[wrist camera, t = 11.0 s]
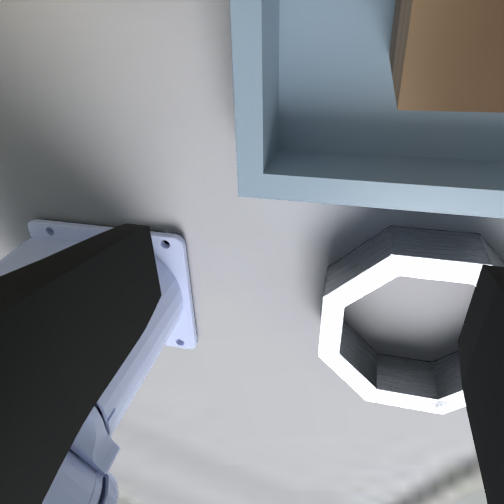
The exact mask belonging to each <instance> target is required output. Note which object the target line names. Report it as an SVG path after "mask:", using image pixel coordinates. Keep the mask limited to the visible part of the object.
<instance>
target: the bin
mask: <svg viewBox="0 0 504 504" xmlns="http://www.w3.org/2000/svg"><path fill="white" fill-rule="evenodd" d="M395 3H396V0H230V15H231V38H232V61H233V84H234V107H235V130H236V153H237V176H238V196H240V197H252V198H264V199H276V200H288V201H300V202H312V203H324V204H336V205H348V206H360V207H372V208H384V209H395V210H407V211H419V212H431V213H443V214H455V215H467V216H479V217H491V218H503V219H504V113H495V112H453V111H411V110H397V105H396V98H395V92H394V85H393V79H392V72H391V66H390V59H389V52H390V44H391V36H392V27H393V19H394V11H395Z"/></svg>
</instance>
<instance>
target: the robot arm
mask: <svg viewBox="0 0 504 504" xmlns="http://www.w3.org/2000/svg"><path fill="white" fill-rule="evenodd" d="M27 227H28V231H29V234H30V237H31V238H30V239H28V240H27V241H26V242H24V243H23V244H22V245H20V246H19V247H18V248H16V249H15V250H13V251H12V252H11V253H9V254H8V255H7V256H5V257H4V258H3V259H1V260H0V504H117V499H118V485H117V482H116V479H115V478H114V477H113V476H112V475H111V474H110V473H109V472H108V470H109V468H110V467H111V465H112V463H113V461H114V459H115V457H116V456H117V454H118V452H119V450H120V447H119V446H118V445H117V444H116V443H115V442H114V441H113V440H112V439H111V438H110V437H111V435H112V434H113V432H114V430H115V429H116V427H117V425H118V424H119V422H120V420H121V418H122V417H123V415H124V413H125V412H126V410H127V408H128V407H129V405H130V403H131V401H132V400H133V398H134V396H135V395H136V393H137V391H138V390H139V388H140V386H141V384H142V383H143V381H144V379H145V378H146V376H147V374H148V373H149V371H150V369H151V367H152V366H153V364H154V362H155V361H156V359H157V357H158V356H159V354H160V352H161V350H162V349H163V347H164V345H167V346H173V347H179V348H185V349H193V348H195V346H196V344H197V334H196V325H195V317H194V309H193V301H192V293H191V285H190V277H189V269H188V260H187V252H186V244H185V241H184V239H183V238H182V237H181V236H180V235H177V234H171V233H162V232H152V231H150V227H149V226H142V225H133V224H124V225H121V226H117V227H106V226H96V225H87V224H77V223H68V222H59V221H49V220H40V219H33V220H32V221H30V222H29V223H28V225H27ZM51 229H53V231H52V230H51ZM164 240H166V241H168V242H169V244H170V245H167V244H166V243H165V242H164ZM180 339H181V340H182V341H181V340H180ZM458 346H459V361H460V373H461V384H462V389H463V394H464V399H465V404H466V408H467V413H468V418H469V422H470V427H471V431H472V435H473V440H474V444H475V449H476V453H477V458H478V462H479V467H480V471H481V476H482V480H483V484H484V489H485V493H486V498H487V504H504V267H501V266H492V265H484V264H483V265H482V268H481V271H480V274H479V277H478V281H477V284H476V287H475V290H474V293H473V296H472V299H471V302H470V305H469V309H468V312H467V315H466V318H465V321H464V324H463V327H462V330H461V333H460V337H459V340H458Z"/></svg>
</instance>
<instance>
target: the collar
mask: <svg viewBox="0 0 504 504" xmlns="http://www.w3.org/2000/svg"><path fill="white" fill-rule="evenodd" d="M483 264H484V265H492V266H501V267H504V263H503V261H502V260H501V259H500V258H499V257H498V256H497V254H496V253H495V252H494V251H493V250H492V249H491V247H490V246H489V245H488V244H487V243H486V242H485V240H484V239H483V238H482V237H481V235H480V234H473V233H462V232H451V231H440V230H429V229H418V228H408V227H397V226H390V227H388V228H387V229H385V230H384V231H382V232H381V233H379V234H378V235H376V236H375V237H373V238H372V239H370V240H368V241H367V242H365V243H364V244H362V245H361V246H359V247H358V248H356V249H355V250H353V251H352V252H350V253H349V254H347V255H346V256H344V257H343V258H341V259H340V260H338V261H337V262H335V263H334V264H332V265H331V266H329V267H328V268H327V274H326V280H325V285H324V291H323V297H322V298H323V303H322V315H321V327H320V339H319V350H318V357H320V358H321V359H322V360H323V361H324V362H325V363H326V364H327V365H328V366H329V367H330V368H331V369H332V370H334V371H335V372H336V373H337V374H338V375H339V376H340V377H341V378H342V379H343V380H344V381H345V382H346V383H347V384H349V385H350V386H351V387H352V388H353V389H354V390H355V391H356V392H357V393H358V394H359V395H360V396H361V397H362V398H364V399H365V401H370V402H375V403H381V404H386V405H392V406H398V407H403V408H409V409H414V410H420V411H425V412H431V413H437V414H442V415H443V414H445V413H448V412H451V411H454V410H457V409H459V408H462V407H465V406H466V404H465V399H464V394H463V389H462V384H461V373H460V361H459V351H458V352H456V353H453V354H451V355H449V356H446V357H444V358H442V359H439V360H437V361H435V362H433V363H432V362H426V361H419V360H413V359H406V358H400V357H394V356H387V355H381V354H376V353H375V352H374V351H373V350H372V349H371V348H370V347H369V346H368V345H367V344H366V343H365V342H364V341H363V340H362V339H361V338H360V337H359V336H358V335H357V334H356V333H355V332H354V331H353V330H352V329H351V328H350V327H349V326H348V325H347V324H346V323H345V322H344V321H343V316H344V307H346V306H348V305H349V304H351V303H353V302H354V301H356V300H358V299H360V298H361V297H363V296H365V295H367V294H368V293H370V292H372V291H373V290H375V289H377V288H379V287H380V286H382V285H384V284H386V283H387V282H389V281H391V280H392V279H394V278H396V277H398V276H405V277H413V278H422V279H431V280H439V281H448V282H457V283H465V284H474V285H475V287H476V284H477V281H478V277H479V274H480V271H481V268H482V265H483Z"/></svg>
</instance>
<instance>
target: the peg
mask: <svg viewBox="0 0 504 504" xmlns="http://www.w3.org/2000/svg"><path fill="white" fill-rule="evenodd" d="M389 59H390V66H391V72H392V79H393V85H394V92H395V98H396V105H397V110H411V111H453V112H495V113H504V0H396V3H395V11H394V19H393V27H392V36H391V44H390V52H389Z"/></svg>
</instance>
